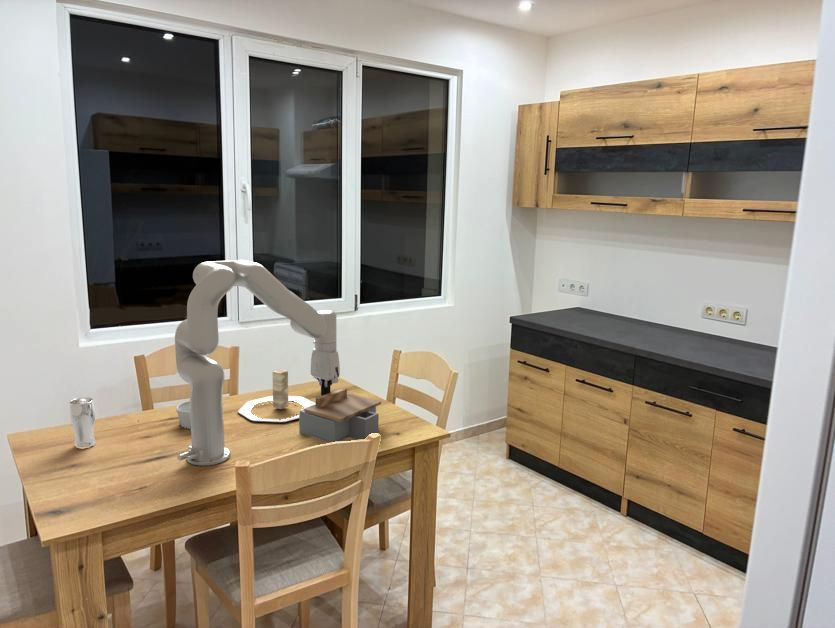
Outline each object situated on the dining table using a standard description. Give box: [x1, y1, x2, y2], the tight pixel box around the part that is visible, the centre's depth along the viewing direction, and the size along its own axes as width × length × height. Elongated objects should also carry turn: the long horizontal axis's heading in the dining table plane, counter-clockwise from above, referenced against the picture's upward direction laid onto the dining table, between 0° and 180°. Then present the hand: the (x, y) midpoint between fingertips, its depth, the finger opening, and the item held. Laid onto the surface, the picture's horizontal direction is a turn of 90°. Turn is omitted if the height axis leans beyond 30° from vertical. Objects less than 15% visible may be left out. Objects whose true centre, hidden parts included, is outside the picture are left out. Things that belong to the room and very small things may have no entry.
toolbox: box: [298, 406, 380, 443], centre depth 210 cm, size 22×23×8 cm
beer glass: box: [69, 396, 97, 447], centre depth 192 cm, size 7×7×15 cm
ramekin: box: [175, 400, 191, 430], centre depth 213 cm, size 13×13×7 cm
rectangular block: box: [271, 368, 289, 410], centre depth 229 cm, size 4×4×14 cm
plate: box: [237, 395, 316, 424], centre depth 229 cm, size 28×28×2 cm
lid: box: [304, 387, 382, 422], centre depth 210 cm, size 22×16×4 cm
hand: (325, 396), depth 214 cm, fingers closed
